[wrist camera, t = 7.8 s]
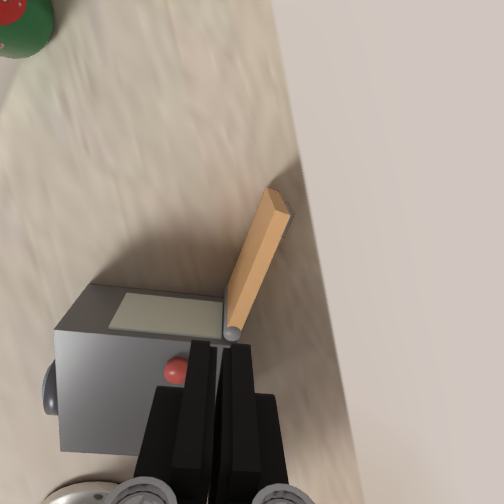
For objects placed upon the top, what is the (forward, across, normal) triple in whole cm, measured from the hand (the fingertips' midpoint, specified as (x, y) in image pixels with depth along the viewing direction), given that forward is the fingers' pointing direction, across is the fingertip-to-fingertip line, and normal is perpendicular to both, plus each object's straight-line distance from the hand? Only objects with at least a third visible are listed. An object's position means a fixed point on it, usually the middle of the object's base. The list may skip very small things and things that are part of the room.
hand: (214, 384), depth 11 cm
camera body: (+17, +4, +12) cm, 21 cm away
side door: (+17, -2, +2) cm, 17 cm away
